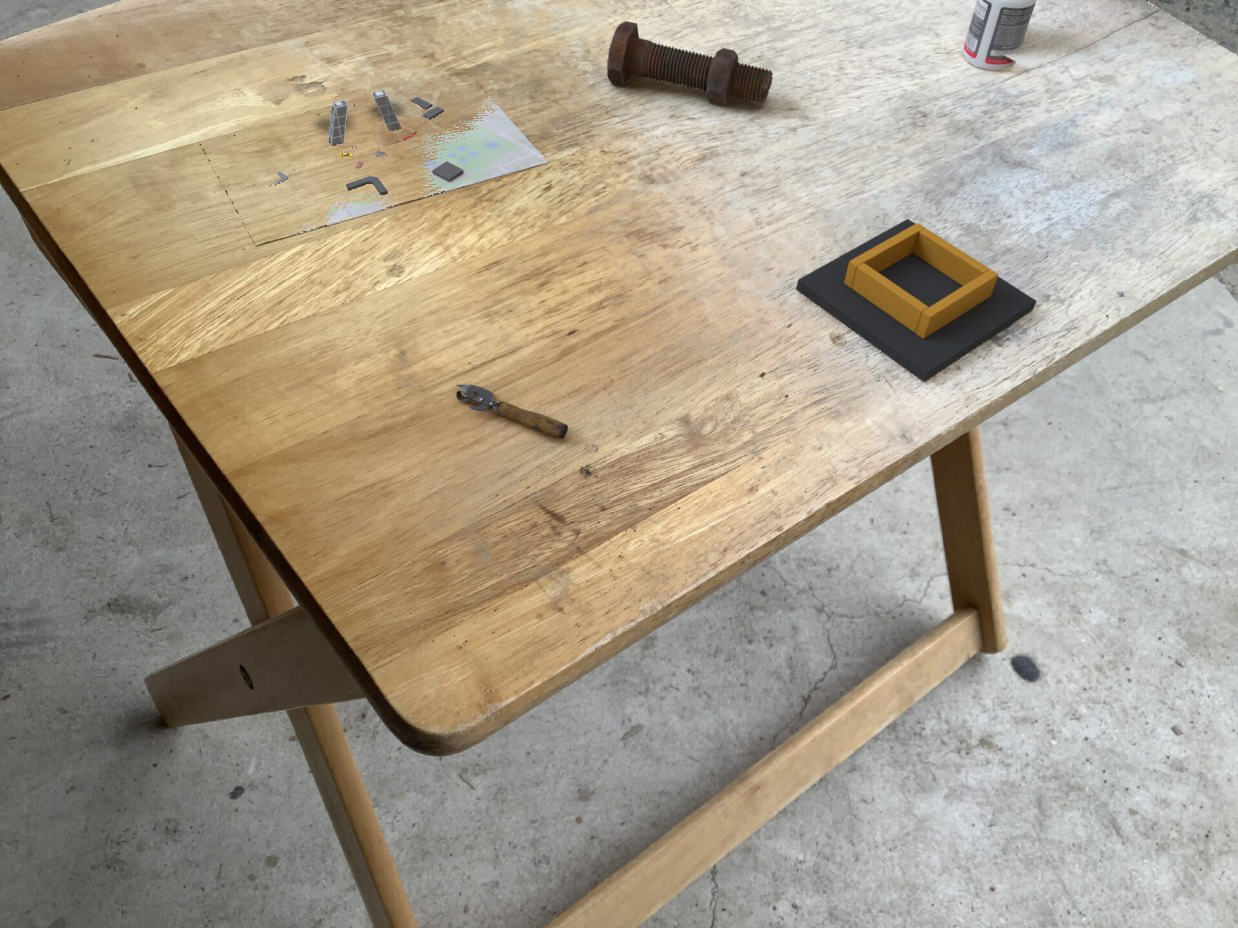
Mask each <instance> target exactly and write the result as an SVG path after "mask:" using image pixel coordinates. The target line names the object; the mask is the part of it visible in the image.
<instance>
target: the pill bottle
mask: <svg viewBox="0 0 1238 928" xmlns="http://www.w3.org/2000/svg"><path fill="white" fill-rule="evenodd" d="M1036 4H1037V0H976V3H975V7H974V9H973V13H972V17H971V20H970V24H969V27H968V31H967V34H966V38H965V42H964V45H963V49H962V55H963V57H964V59H965V61H967V62H968V63H969V64H971V65H972V66H974V67H976V68H978V69H983V70H987V71H1004V70H1008V69H1011V68H1012V67H1013V66H1015V64H1016V63H1017V61H1016V60H1014V59H1012V58H1010V57H1008V56H1006V55H1008V54H1013V53H1016V52H1018V51H1019V50H1021V48H1022V45H1023V42H1024V40H1025V38H1026V37H1025V36H1026V34H1027V31H1028V28H1029V24H1030V21H1031V18H1032V15H1033V12H1034V9H1035V7H1036Z"/></svg>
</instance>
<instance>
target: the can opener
mask: <svg viewBox="0 0 1238 928" xmlns="http://www.w3.org/2000/svg"><path fill="white" fill-rule="evenodd" d="M455 387H459V389H458V390H457V391H456V395H455V397H456V399H457V400H458V401H460V402H465V403H466V402H467V403H468V402H473V403H476V404H478V406H474V405H472V404H471V403H470V404H468V408H469V409H471V410H473V411H476V412H477V411H478V412H482V411H483V412H484V411H486V410H488V409H491V410H492V411H493V413H494V414H496V415H497V416H499V417H501V418H505V419H506V420H507V419H508V420H510V421H513V422H516V423H519V424H522V425H524V426H526V427H528V428H530V429H532V430H533V431H537V432H539V433H542V434H545V435H548V436H551V437H554V438H557V439H562V440H563V439H565V437H566V436H567V434H568V430H569V426H568V424H566V423H564V422H562V421H560V420H558V419H556V418H553V417H550V416H548V415H544V414H542V413H538V412H534V411H532V410H531V411H530V410H528V409H524V408H521V407H519V406H516V405H514V404H512V403H509V402H506V401H501V400H496V401H495V395H494V393H493V392H492V391H490V390H489V389H486V388H485V387H482V386H479V385H476V384H466V383H465V384H462V383H461V384H455ZM464 395H465V396H464Z"/></svg>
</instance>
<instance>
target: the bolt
mask: <svg viewBox="0 0 1238 928" xmlns="http://www.w3.org/2000/svg"><path fill="white" fill-rule="evenodd" d="M638 26H639V25H638V23H636V22H632V21H628V20H625V21H623V22H621V23H620V24H618V25H617V26H616V28H615V31H614V33H613V36H612V37H611V38H612V39H611V42H610V45H609V49H608V54H607V63H606V76H607V79H608V81H609V82H610V83H611V85H612V86H615V87H619V88H623V89H624V88H625V87H626V85H627V83H628V82H629V80H630V79H631V77H635V78H640V79H649V80H652V81H657V82H663V83H664V82H665V83H669V84H672V85H676V86H678V85H679V87H681V86H682V87H686V88H689V89H693V90H697V91H699V90H700V92H702V91H703V92H704V93H705V97H706V99H707V101H708V102H709V104H710V105H711V104H712V105H716V106H720V107H723V106H724V105H725V104H727V103H728V102H729V100H730V98H731V99H733V98H734V99H738V100H739V101H740V100H741V101H745V102H747V101H748V102H749V103H752V104H754V103H755V104H759V105H761V104H763V103H765V102H766V100H767V98H768V96H769V93H770V90H771V86H772V83H773V75H774V73H773V72H772V70H771V69H768V68H764V67H761V66H760V67H758V66H757V65H756V66H755V65H751V64H748V65H747V63H745V64H744V63H743V62H742V63H740V62H739V55H738V54H737V52H736V50H734V49H731V48H725V47H722V48H720V49H718V50H717V51H716V53H715V55H714V56H712V55H710V56H709V54H707V55H706V54H705V53H704V54H702V53H701V52H700V53H698V52H695V51H691V50H687V49H686V50H685V49H681V48H678V47H674V46H670V45H669V46H667V45H664V44H661V43H657V42H653V41H652V40H649V39H644V38H641V37H640V35H639V27H638Z"/></svg>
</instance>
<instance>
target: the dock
mask: <svg viewBox="0 0 1238 928" xmlns="http://www.w3.org/2000/svg"><path fill="white" fill-rule="evenodd" d="M795 290H796V291H798V292H799V293H801V295H802V296H805V297H806V298H807V299H809V300H810V301H812V302H813V303H814V304H816V306H819V307H820V308H821V309H822V310H823V311H825V312H826V313H828V314H829V315H830V316H832V317H833V318H835V319H836V320H838V321H839V322H840V323H841V324H843V325H845V326H846V327H847V328H848V329H850V330H851V331H853V332H854V333H855V334H856V335H858V336H860V337H861V338H862V339H864V340H865V341H866V342H868V343H869V344H871V345H872V346H873V347H875V348H876V349H878V350H879V351H880V352H882V353H883V354H884V355H885V356H887V357H889V358H890V359H891V360H893V361H894V362H895V363H897V364H898V365H899V366H901V367H902V368H904V369H905V370H906V371H908V372H909V373H910V374H912V375H913V376H915V377H916V378H918V379H919V380H920V381H922V382H923V383H926V382H927V381H929V380H930V379H932V378H933V377H935V376H936V375H938V374H939V373H941V372H943V370H945V369H947V368H949V367H950V366H951V365H953V364H954V363H956V362H957V361H958V360H960V359H962V358H963V357H964V356H966V355H968V354H970V353H971V352H972V351H974V350H975V349H977V348H978V347H980V346H982V345H983V344H984V343H986V342H987V341H989V340H990V339H992V338H993V337H995V336H997V335H998V334H999V333H1001V332H1003V331H1005V329H1007V328H1008V327H1010V326H1011V325H1013V324H1015V323H1016V322H1018V321H1019V320H1020V319H1022V318H1023V317H1025V316H1027V315H1028V314H1030V313H1031V312H1033V311H1034V309H1035V306H1036V304H1037V299H1035V298H1033V297H1031V296H1030V295H1028V294H1027V293H1025V292H1023V291H1022V290H1020V289H1019V288H1018V287H1016V286H1014V285H1013V284H1011V283H1009V282H1008V281H1006V280H1005V279H1003V278H1002V277H1000V275H999V273H998V272H996V271H995V270H993V269H990V268H989V267H988V266H986V265H985V264H984V263H982V262H980V261H978V260H977V259H976V258H974V257H972V256H970V254H967V253H966V252H964V251H963V250H961V248H960V249H959V248H958V247H956V245H954V244H952V243H951V242H949V241H947V240H945V239H944V238H942V237H941V236H939V235H938V234H936V233H934V232H933V231H931V230H930V229H929V228H926V227H925V226H924V225H922V224H921V223H919V222H914V221H912V220H911V219H909V218H906V219H905V220H903V221H901V222H900V223H898V224H897V223H896V224H895V225H894V226H892V227H890V228H888V229H887V230H885V231H883V232H881V233H879V234H878V235H876V236H874V237H873V238H870V239H868V240H867V241H865V242H863V243H862V244H860V245H857V246H856V247H855V248H854V247H853V248H852V249H851V250H849V251H846V252H845V253H843V254H841V255H840V256H838V257H836V258H834V259H833V260H831V261H829V262H827V263H826V264H824V265H822V266H820V267H819V268H816V269H815V270H813V271H811V272H809V273H808V274H806V275H804V276H802V277H801V278H798V279H797V283H796V288H795Z"/></svg>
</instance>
